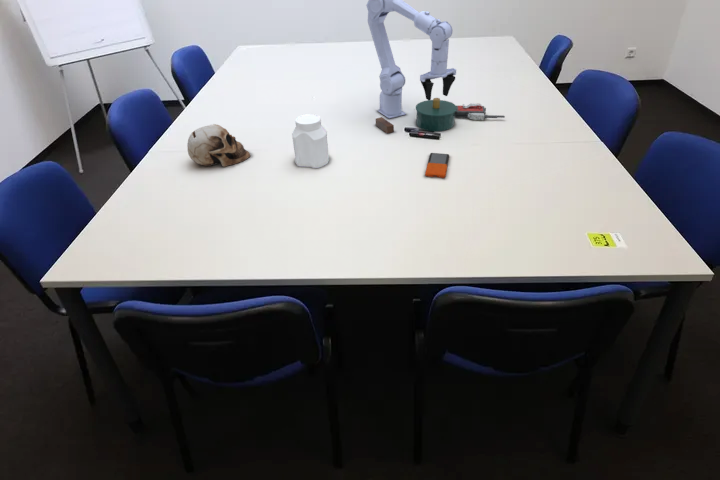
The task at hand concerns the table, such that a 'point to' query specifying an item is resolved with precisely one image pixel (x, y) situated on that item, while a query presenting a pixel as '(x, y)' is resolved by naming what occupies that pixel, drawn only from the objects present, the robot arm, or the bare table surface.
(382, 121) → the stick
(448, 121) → the tin
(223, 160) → the coin bank
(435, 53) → the robot arm
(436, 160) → the phone
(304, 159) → the jar
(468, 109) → the walkie-talkie
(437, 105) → the tin lid
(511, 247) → the table surface
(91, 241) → the table surface
